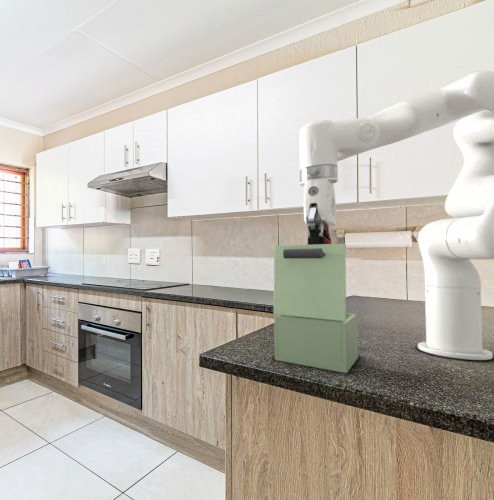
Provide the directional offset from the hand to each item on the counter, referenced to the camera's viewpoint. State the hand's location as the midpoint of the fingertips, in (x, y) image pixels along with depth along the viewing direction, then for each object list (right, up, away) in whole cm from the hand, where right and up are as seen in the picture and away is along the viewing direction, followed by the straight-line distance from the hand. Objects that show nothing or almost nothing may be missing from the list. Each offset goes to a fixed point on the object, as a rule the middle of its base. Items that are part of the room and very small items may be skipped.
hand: (319, 254), depth 79 cm
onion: (0, -3, 0) cm, 3 cm away
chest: (-1, -24, -1) cm, 24 cm away
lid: (-6, -6, -5) cm, 10 cm away
